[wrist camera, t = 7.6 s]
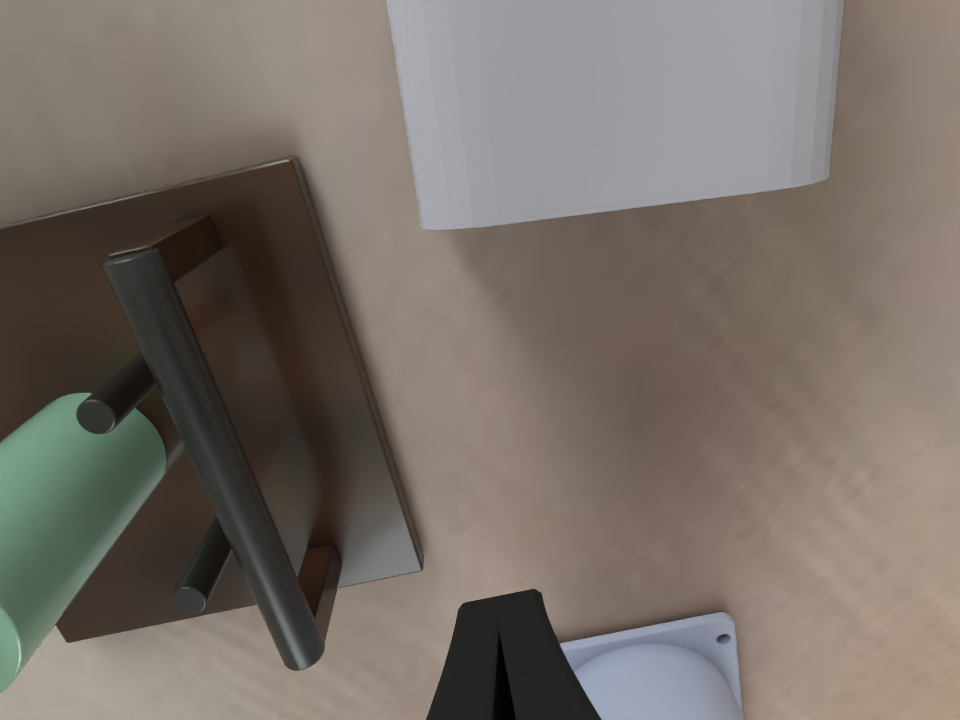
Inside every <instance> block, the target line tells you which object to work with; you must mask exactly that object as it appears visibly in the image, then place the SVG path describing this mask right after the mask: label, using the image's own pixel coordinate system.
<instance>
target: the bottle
mask: <svg viewBox="0 0 960 720" xmlns="http://www.w3.org/2000/svg"><path fill="white" fill-rule="evenodd" d="M91 394H92V393H76V394H70V395H66V396H62V397H60V398H58V399H55V400H54V401H52V402H50V403H49V404H48V405H46V406H45V407H44V408H42V409H41V410H40V411H39V412H37V413H36V414H35V415H34V416H32V417H31V418H30V419H28V420H27V421H26V422H25V423H23V424H22V425H21V426H20V427H18V428H17V429H16V430H14V431H13V432H12V433H11V434H9V435H8V436H7V437H6V438H4V439H3V440H2V441H0V693H1V692H3V691H4V690H5V689H7V688H8V687H9V686H10V685H11V684H12V683H13V681H14V680H15V679H16V677H17V676H18V675H19V673H20V672H21V671H22V669H23V668H24V666H25V665H26V664H27V662H28V661H29V660H30V658H31V657H32V656H33V654H34V653H35V652H36V650H37V649H38V648H39V646H40V645H41V643H42V642H43V641H44V639H45V638H46V637H47V635H48V634H49V633H50V631H51V630H52V629H53V627H54V626H55V624H56V623H57V622H58V620H59V619H60V618H61V616H62V615H63V614H64V612H65V611H66V610H67V608H68V607H69V605H70V604H71V603H72V601H73V600H74V599H75V597H76V596H77V595H78V593H79V592H80V591H81V589H82V588H83V586H84V585H85V584H86V582H87V581H88V580H89V578H90V577H91V576H92V574H93V573H94V572H95V570H96V569H97V568H98V566H99V565H100V563H101V562H102V561H103V559H104V558H105V557H106V555H107V554H108V553H109V551H110V550H111V549H112V547H113V546H114V544H115V543H116V542H117V540H118V539H119V538H120V536H121V535H122V534H123V532H124V531H125V530H126V528H127V527H128V525H129V524H130V523H131V521H132V520H133V519H134V517H135V516H136V515H137V513H138V512H139V511H140V509H141V508H142V506H143V505H144V504H145V502H146V501H147V500H148V498H149V497H150V496H151V494H152V493H153V492H154V490H155V489H156V487H157V486H158V485H159V483H160V482H161V480H162V478H163V475H164V472H165V469H166V451H165V446H164V443H163V441H162V438H161V436H160V434H159V432H158V431H157V429H156V428H155V426H154V425H153V424H152V423H151V422H150V420H149V419H148V418H147V417H146V416H145V415H143V414H142V413H141V412H140V411H139V410H137V409H136V408H134V409H133V410H132V411H131V412H130V413H129V414H128V415H127V416H126V417H125V418H124V419H123V420H122V422H121V423H120V424H119V425H118V426H117V427H116V428H115V429H114V430H112V431H111V432H109V433H106V434H93V433H90V432H88V431H86V430H85V429H84V428H82V427H81V425H80V424H79V423H78V421H77V418H76V411H77V408H78V406H79V405H80V404H81V403H82V402H83V401H84V400H85V399H86V398H87V397H89V396H90V395H91Z"/></svg>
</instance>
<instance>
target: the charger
mask: <svg viewBox="0 0 960 720" xmlns="http://www.w3.org/2000/svg"><path fill="white" fill-rule="evenodd" d="M386 2H387V9H388V15H389V22H390V28H391V35H392V41H393V48H394V54H395V61H396V67H397V74H398V80H399V87H400V93H401V100H402V106H403V113H404V119H405V126H406V132H407V139H408V145H409V152H410V158H411V165H412V171H413V178H414V184H415V191H416V198H417V204H418V211H419V217H420V224H421V228H423V229H429V230H452V229H466V228H478V227H487V226H496V225H504V224H512V223H520V222H528V221H536V220H544V219H551V218H559V217H567V216H575V215H583V214H591V213H599V212H607V211H615V210H623V209H631V208H638V207H646V206H654V205H662V204H670V203H678V202H686V201H694V200H702V199H710V198H718V197H725V196H733V195H741V194H749V193H757V192H765V191H772V190H779V189H786V188H792V187H798V186H803V185H809V184H813V183H817V182H821V181H824V180H826V179H828V178H829V169H830V157H831V146H832V134H833V123H834V111H835V99H836V88H837V76H838V64H839V53H840V41H841V30H842V18H843V6H844V0H386Z"/></svg>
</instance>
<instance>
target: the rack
mask: <svg viewBox="0 0 960 720" xmlns="http://www.w3.org/2000/svg"><path fill="white" fill-rule="evenodd" d="M76 393H92V394H91V395H90V396H89V397H87V398H86V399H85V400H84V401H83V402H82V403H81V404H80V405H79V406H78V408H77V411H76V418H77V421H78V423H79V424H80V425H81V427H82V428H84V429H85V430H86V431H88V432H90V433H93V434H106V433H109V432H111V431H112V430H114V429H115V428H116V427H117V426H118V425H119V424H120V423H121V422H122V420H123V419H124V418H125V417H126V416H127V415H128V414H129V413H130V412H131V411H132V410H133V409H134V408H136V409H137V410H139V411H140V412H141V413H142V414H143V415H145V416H146V417H147V418H148V419H149V420H150V422H151V423H152V424H153V425H154V426H155V428H156V429H157V431H158V432H159V434H160V436H161V438H162V441H163V443H164V446H165V451H166V469H165V472H164V475H163V478H162V480H161V482H160V483H159V485H158V486H157V487H156V489H155V490H154V492H153V493H152V494H151V496H150V497H149V498H148V500H147V501H146V502H145V504H144V505H143V506H142V508H141V509H140V511H139V512H138V513H137V515H136V516H135V517H134V519H133V520H132V521H131V523H130V524H129V525H128V527H127V528H126V530H125V531H124V532H123V534H122V535H121V536H120V538H119V539H118V540H117V542H116V543H115V544H114V546H113V547H112V549H111V550H110V551H109V553H108V554H107V555H106V557H105V558H104V559H103V561H102V562H101V563H100V565H99V566H98V568H97V569H96V570H95V572H94V573H93V574H92V576H91V577H90V578H89V580H88V581H87V582H86V584H85V585H84V586H83V588H82V589H81V591H80V592H79V593H78V595H77V596H76V597H75V599H74V600H73V601H72V603H71V604H70V605H69V607H68V608H67V610H66V611H65V612H64V614H63V615H62V616H61V618H60V619H59V620H58V622H57V623H56V624H55V625H56V626H57V628H58V629H59V631H60V633H61V634H62V636H63V637H64V639H65V641H66V642H67V643H70V642H75V641H80V640H85V639H90V638H95V637H100V636H105V635H110V634H114V633H119V632H124V631H129V630H134V629H139V628H144V627H149V626H154V625H159V624H164V623H169V622H174V621H178V620H183V619H188V618H193V617H198V616H203V615H208V614H213V613H218V612H223V611H228V610H233V609H238V608H242V607H247V606H252V605H258V608H259V610H260V612H261V614H262V616H263V618H264V621H265V623H266V625H267V627H268V629H269V632H270V634H271V636H272V638H273V640H274V642H275V645H276V647H277V649H278V651H279V653H280V656H281V658H282V660H283V662H284V664H285V666H286V667H287V668H289V669H291V670H294V671H299V670H304V669H306V668H309V667H310V666H312V665H314V664H315V663H316V662H317V661H318V660H319V659H320V658H321V656H322V655H323V652H324V648H325V639H326V635H327V631H328V626H329V622H330V618H331V613H332V609H333V605H334V600H335V596H336V591H337V588H341V587H346V586H351V585H356V584H361V583H366V582H370V581H375V580H380V579H385V578H390V577H395V576H400V575H405V574H410V573H415V572H420V571H422V570H423V564H424V555H423V551H422V548H421V545H420V542H419V539H418V536H417V532H416V529H415V526H414V523H413V520H412V517H411V513H410V510H409V507H408V504H407V501H406V498H405V494H404V491H403V488H402V485H401V482H400V479H399V476H398V472H397V469H396V466H395V463H394V460H393V457H392V453H391V450H390V447H389V444H388V441H387V438H386V434H385V431H384V428H383V425H382V422H381V419H380V415H379V412H378V409H377V406H376V403H375V400H374V396H373V393H372V390H371V387H370V384H369V381H368V378H367V374H366V371H365V368H364V365H363V362H362V359H361V355H360V352H359V349H358V346H357V343H356V340H355V336H354V333H353V330H352V327H351V324H350V321H349V317H348V314H347V311H346V308H345V305H344V302H343V299H342V295H341V292H340V289H339V286H338V283H337V280H336V276H335V273H334V270H333V267H332V264H331V261H330V257H329V254H328V251H327V248H326V245H325V242H324V238H323V235H322V232H321V229H320V226H319V223H318V219H317V216H316V213H315V210H314V207H313V204H312V201H311V197H310V194H309V191H308V188H307V185H306V182H305V178H304V175H303V172H302V169H301V166H300V163H299V159H298V158H297V156H292V157H287V158H283V159H279V160H275V161H271V162H266V163H262V164H258V165H254V166H249V167H245V168H241V169H237V170H233V171H228V172H224V173H220V174H216V175H211V176H207V177H203V178H199V179H195V180H190V181H186V182H182V183H178V184H173V185H169V186H165V187H161V188H157V189H152V190H148V191H144V192H140V193H135V194H131V195H127V196H123V197H119V198H114V199H110V200H106V201H102V202H97V203H93V204H89V205H85V206H81V207H76V208H72V209H68V210H64V211H59V212H55V213H51V214H47V215H43V216H38V217H34V218H30V219H26V220H21V221H17V222H13V223H9V224H5V225H0V441H2V440H3V439H4V438H6V437H7V436H8V435H9V434H11V433H12V432H13V431H14V430H16V429H17V428H18V427H20V426H21V425H22V424H23V423H25V422H26V421H27V420H28V419H30V418H31V417H32V416H34V415H35V414H36V413H37V412H39V411H40V410H41V409H42V408H44V407H45V406H46V405H48V404H49V403H50V402H52V401H54V400H55V399H58V398H60V397H62V396H66V395H70V394H76Z"/></svg>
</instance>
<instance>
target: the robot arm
mask: <svg viewBox="0 0 960 720" xmlns="http://www.w3.org/2000/svg"><path fill="white" fill-rule="evenodd" d="M722 634H724V635H722ZM719 635H722V636H720V637H719ZM426 720H745V717H744V715H743V709H742V697H741V686H740V674H739V663H738V652H737V640H736V629H735V624H734V622H733V620H732V618H731V616H730V615H729V614H727V613H724V612H718V613H713V614H707V615H702V616H697V617H692V618H687V619H682V620H677V621H672V622H667V623H661V624H656V625H651V626H646V627H641V628H636V629H631V630H626V631H621V632H615V633H610V634H605V635H600V636H595V637H590V638H585V639H580V640H575V641H569V642H564V643H559V642H558V640H557V638H556V635H555V633H554V631H553V628H552V626H551V624H550V621H549V618H548V616H547V613H546V609H545V606H544V602H543V597H542V593H540V592H539V591H537V590H535V589H531V590H526V591H521V592H516V593H511V594H506V595H501V596H496V597H491V598H486V599H481V600H476V601H471V602H466V603H463V604H462V605H461V607H460V608H459V609H458V614H457V619H456V624H455V628H454V632H453V636H452V640H451V644H450V648H449V651H448V655H447V658H446V661H445V665H444V668H443V671H442V675H441V678H440V681H439V684H438V687H437V690H436V693H435V695H434V698H433V701H432V704H431V707H430V710H429V713H428V716H427V719H426Z"/></svg>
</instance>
